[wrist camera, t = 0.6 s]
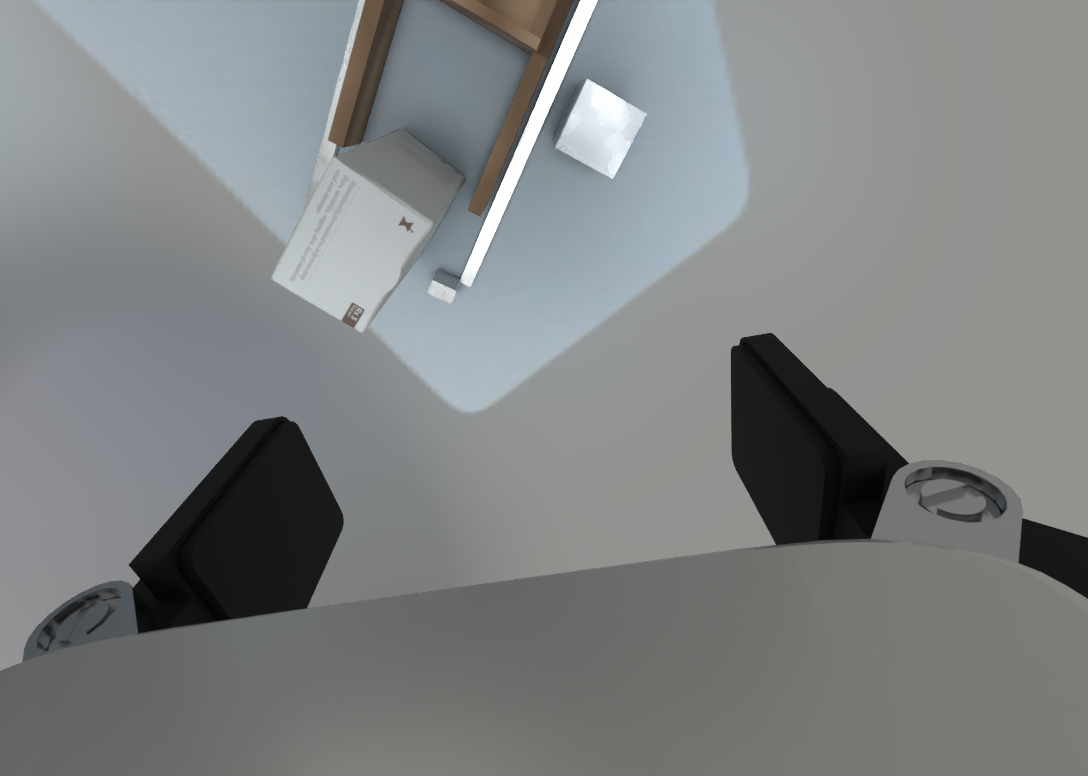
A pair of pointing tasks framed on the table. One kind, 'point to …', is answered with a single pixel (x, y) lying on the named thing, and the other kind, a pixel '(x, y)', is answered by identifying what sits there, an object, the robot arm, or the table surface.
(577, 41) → the rail
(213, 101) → the table surface
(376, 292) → the skincare box
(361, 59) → the cradle
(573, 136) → the gray rectangular block
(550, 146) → the table surface
